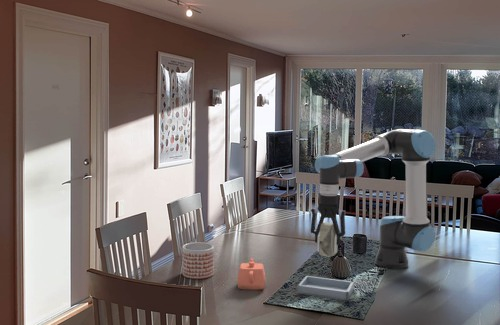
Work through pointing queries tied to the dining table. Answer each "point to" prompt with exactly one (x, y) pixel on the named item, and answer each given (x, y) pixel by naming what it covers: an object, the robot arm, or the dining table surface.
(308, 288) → the bin
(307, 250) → the dining table surface
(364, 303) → the dining table surface
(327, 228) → the box
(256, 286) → the teapot
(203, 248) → the planter
